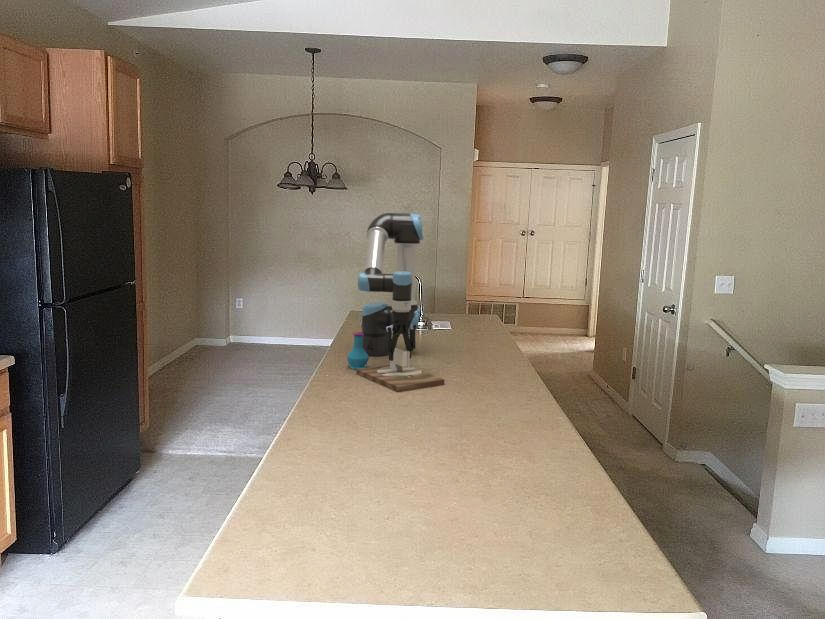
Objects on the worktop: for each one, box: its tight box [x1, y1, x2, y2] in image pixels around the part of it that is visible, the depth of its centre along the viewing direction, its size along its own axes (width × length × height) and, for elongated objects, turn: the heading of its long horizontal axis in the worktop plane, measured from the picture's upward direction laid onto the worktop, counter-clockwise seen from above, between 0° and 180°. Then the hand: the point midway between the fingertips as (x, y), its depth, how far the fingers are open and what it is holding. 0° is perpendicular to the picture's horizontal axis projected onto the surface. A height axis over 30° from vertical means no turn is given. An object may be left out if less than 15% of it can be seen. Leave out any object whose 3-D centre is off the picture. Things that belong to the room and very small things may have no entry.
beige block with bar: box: [379, 347, 407, 374], centre depth 263 cm, size 7×11×9 cm, turn 125°
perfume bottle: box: [346, 331, 370, 370], centre depth 278 cm, size 9×9×15 cm
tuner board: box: [355, 364, 446, 393], centre depth 262 cm, size 30×22×2 cm
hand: (399, 367), depth 265 cm, fingers open, 6 cm apart
